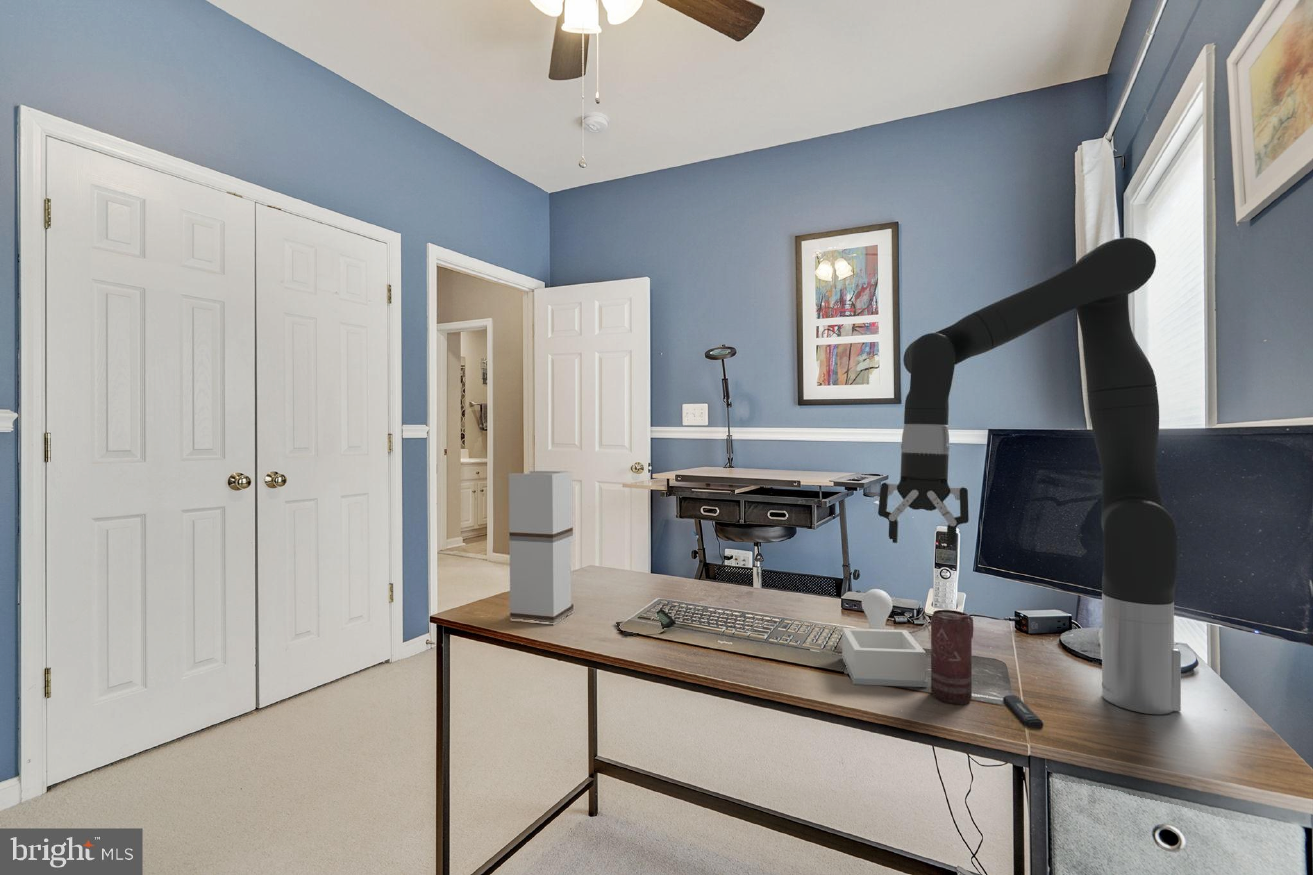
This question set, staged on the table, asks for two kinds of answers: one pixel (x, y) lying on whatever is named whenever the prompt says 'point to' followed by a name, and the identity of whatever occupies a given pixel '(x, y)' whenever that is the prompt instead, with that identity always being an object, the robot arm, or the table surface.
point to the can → (951, 656)
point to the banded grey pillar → (540, 545)
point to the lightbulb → (877, 608)
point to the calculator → (663, 617)
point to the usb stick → (1023, 711)
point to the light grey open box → (883, 657)
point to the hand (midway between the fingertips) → (921, 544)
